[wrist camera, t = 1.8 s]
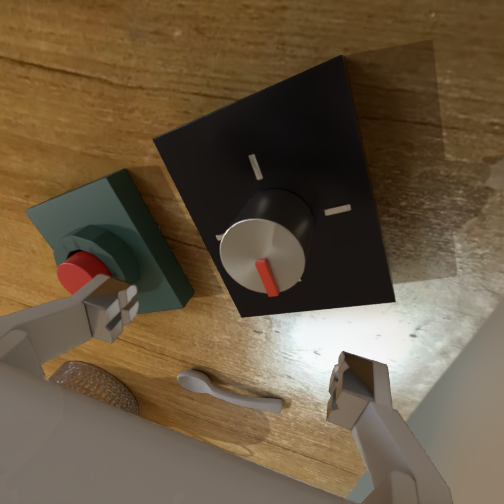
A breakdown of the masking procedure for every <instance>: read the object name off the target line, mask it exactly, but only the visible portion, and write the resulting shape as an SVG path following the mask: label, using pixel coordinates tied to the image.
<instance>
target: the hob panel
mask: <svg viewBox="0 0 504 504" xmlns="http://www.w3.org/2000/svg"><path fill="white" fill-rule="evenodd" d="M153 141H154V143H155V145H156V147H157V149H158V151H159V153H160V155H161V157H162V159H163V161H164V163H165V165H166V167H167V169H168V171H169V173H170V175H171V177H172V179H173V181H174V183H175V185H176V187H177V189H178V191H179V193H180V195H181V197H182V199H183V201H184V203H185V205H186V207H187V209H188V211H189V213H190V215H191V217H192V219H193V221H194V223H195V225H196V227H197V229H198V231H199V233H200V235H201V237H202V239H203V241H204V243H205V245H206V247H207V249H208V251H209V253H210V255H211V257H212V259H213V261H214V263H215V265H216V267H217V269H218V271H219V273H220V275H221V277H222V279H223V281H224V283H225V285H226V287H227V289H228V291H229V293H230V295H231V297H232V299H233V301H234V303H235V305H236V307H237V309H238V311H239V313H240V315H241V317H242V318H243V317H253V316H263V315H273V314H283V313H292V312H302V311H312V310H322V309H332V308H342V307H352V306H362V305H372V304H382V303H391V302H396V299H395V293H394V287H393V281H392V275H391V270H390V265H389V261H388V256H387V251H386V247H385V242H384V237H383V233H382V228H381V223H380V219H379V214H378V209H377V205H376V200H375V196H374V191H373V186H372V182H371V177H370V172H369V168H368V163H367V158H366V154H365V149H364V144H363V140H362V135H361V130H360V126H359V121H358V117H357V112H356V107H355V103H354V98H353V93H352V89H351V84H350V79H349V75H348V70H347V65H346V61H345V56H344V55H340V56H338V57H335V58H333V59H331V60H329V61H326V62H324V63H322V64H320V65H318V66H315V67H313V68H311V69H309V70H306V71H304V72H302V73H300V74H297V75H295V76H293V77H291V78H288V79H286V80H284V81H282V82H279V83H277V84H275V85H273V86H270V87H268V88H266V89H264V90H261V91H259V92H257V93H255V94H252V95H250V96H248V97H246V98H243V99H241V100H239V101H237V102H234V103H232V104H230V105H228V106H225V107H223V108H221V109H219V110H216V111H214V112H212V113H210V114H207V115H205V116H203V117H201V118H198V119H196V120H194V121H192V122H189V123H187V124H185V125H183V126H180V127H178V128H176V129H174V130H171V131H169V132H167V133H165V134H162V135H160V136H158V137H156V138H153ZM269 189H280V190H285V191H289V192H291V193H293V194H295V195H297V196H298V197H300V198H301V199H302V200H303V201H304V202H305V203H306V204H307V206H308V207H309V209H310V210H311V212H312V215H313V219H314V232H313V236H312V240H311V244H310V248H309V252H308V256H307V260H306V265H305V269H304V272H303V274H302V276H301V278H300V279H299V281H298V282H297V283H296V284H295V285H293V286H292V287H290V288H289V289H287V290H285V291H282V292H279V295H278V296H272V297H269V296H268V294H267V293H260V292H256V291H253V290H250V289H248V288H246V287H244V286H242V285H240V284H239V283H238V282H236V281H235V280H234V279H233V278H232V277H231V276H230V275H229V274H228V272H227V271H226V269H225V268H224V266H223V263H222V261H221V257H220V242H221V239H222V237H223V235H224V233H225V232H226V230H227V229H228V228H229V226H230V225H231V224H232V222H233V221H234V220H235V218H236V217H237V216H238V214H239V213H240V212H241V211H242V209H243V208H244V207H245V205H246V204H247V203H248V201H249V200H250V199H251V198H252V197H253V196H254V195H256V194H258V193H259V192H262V191H265V190H269Z"/></svg>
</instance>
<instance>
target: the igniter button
mask: <svg viewBox="0 0 504 504" xmlns="http://www.w3.org/2000/svg"><path fill="white" fill-rule="evenodd" d="M98 274H105V275H107V276H110V277H112V274H111V272H110V271H109V269H108V268H107V266H106V265H105V263H104V262H103V261H101V260H100V259H99V258H98V257H96V256H95V255H94V254H92V253H90V252H86V251H80V252H77V253H76V254H74V255H73V256H71V257H70V258H68V259H67V260H65V261H64V262H63V263H61V264H60V265H59V266H58V268H57V276H58V279H59V281H60V282H61V284H62V285H63V287H64V288H65V289H66V290H67V291H68V292H70V293H71V294H72V295H73V294H74V293H75V292H77V291H78V290H79V289H80V288H82V287H83V286H84V285H85V284H87V283H88V282H89V281H90V280H91V279H93V278H94V277H95V276H96V275H98Z"/></svg>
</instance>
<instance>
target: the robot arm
mask: <svg viewBox="0 0 504 504" xmlns="http://www.w3.org/2000/svg"><path fill="white" fill-rule="evenodd" d="M136 294H137V286H136V285H134V284H131V283H128V282H125V281H122V280H119V279H117V278H114V277H110V276H107V275H105V274H98V275H96V276H95V277H94V278H93V279H91V280H90V281H89V282H88V283H87V284H85V285H84V286H83V287H82V288H80V289H79V290H78V291H77V292H75V293H74V294H73V295H72V296H71V297H69V298H67V297H64V298H60V299H57V300H54V301H51V302H47V303H44V304H41V305H37V306H34V307H31V308H28V309H24V310H21V311H18V312H15V313H11V314H8V315H5V316H2V317H0V504H359V503H356V502H353V501H351V500H348V499H346V498H343V497H341V496H338V495H336V494H333V493H331V492H328V491H326V490H323V489H321V488H318V487H316V486H313V485H311V484H308V483H306V482H303V481H301V480H298V479H296V478H293V477H291V476H288V475H286V474H283V473H280V472H278V471H275V470H273V469H270V468H268V467H265V466H263V465H260V464H258V463H255V462H253V461H250V460H248V459H245V458H243V457H240V456H238V455H235V454H233V453H230V452H228V451H225V450H223V449H220V448H218V447H215V446H213V445H210V444H208V443H205V442H203V441H200V440H198V439H195V438H193V437H190V436H188V435H185V434H183V433H180V432H178V431H175V430H173V429H170V428H167V427H165V426H162V425H160V424H157V423H155V422H152V421H150V420H147V419H145V418H142V417H140V416H137V415H135V414H132V413H130V412H127V411H125V410H122V409H120V408H117V407H115V406H112V405H110V404H107V403H104V402H102V401H99V400H97V399H94V398H92V397H89V396H87V395H84V394H82V393H79V392H77V391H74V390H72V389H69V388H67V387H64V386H62V385H59V384H57V383H54V382H52V381H49V380H47V379H45V373H44V371H43V369H42V366H41V364H43V363H45V362H47V361H49V360H51V359H53V358H55V357H57V356H59V355H61V354H63V353H65V352H67V351H69V350H71V349H73V348H75V347H77V346H79V345H81V344H83V343H85V342H86V341H88V340H90V339H92V337H93V338H96V339H99V340H102V341H105V342H108V343H111V344H112V343H113V342H114V341H115V340H116V339H117V337H118V336H119V335H120V334H121V333H122V332H123V326H124V325H126V324H129V323H131V321H132V320H133V319H134V318H135V316H136V314H137V312H138V307H139V301H138V299H137V298H136V297H135V295H136ZM329 393H330V394H331V397H330V399H329V401H328V405H327V418H326V421H328V422H331V423H333V424H336V425H338V426H341V427H343V428H346V429H348V430H351V434H352V436H353V438H354V441H355V443H356V445H357V448H358V450H359V452H360V455H361V457H362V459H363V462H364V464H365V466H366V469H367V471H368V473H369V476H370V478H371V480H372V482H373V485H374V487H375V489H374V490H373V491H372V492H371V493H370V495H369V496H368V497H367V498H366V499H365V500H364V501H363V502H362V503H361V504H453V500H452V496H451V491H450V488H449V487H448V485H447V484H446V482H445V481H444V479H443V478H442V476H441V475H440V473H439V472H438V470H437V469H436V467H435V466H434V464H433V463H432V462H431V460H430V458H429V457H428V455H427V454H426V452H425V451H424V450H423V448H422V447H421V445H420V443H419V442H418V441H417V439H416V438H415V436H414V435H413V433H412V432H411V430H410V429H409V427H408V426H407V424H406V423H405V421H404V420H403V418H402V417H401V415H400V414H399V412H398V411H397V410H395V409H393V408H392V399H391V390H390V381H389V372H388V367H387V365H386V364H383V363H380V362H377V361H374V360H370V359H367V358H364V357H361V356H358V355H354V354H351V353H348V352H345V351H342V352H341V354H340V356H339V360H338V364H337V365H335V366H334V369H333V371H332V375H331V378H330V384H329Z"/></svg>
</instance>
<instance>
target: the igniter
mask: <svg viewBox="0 0 504 504" xmlns="http://www.w3.org/2000/svg"><path fill="white" fill-rule="evenodd" d="M24 212H25V213H26V214H27V216H28V217H29V218H30V220H31V221H32V222H33V224H34V225H35V226H36V228H37V229H38V231H39V232H40V233H41V235H42V236H43V237H44V239H45V240H46V241H47V243H48V244H49V245H50V247H51V248H52V249H53V251H54V252H53V254H54V258H55V261H56V265H57V268H58V266H59V265H60V264H61V263H63V262H64V261H65V260H67V259H68V258H70V257H71V256H73V255H74V254H76V253H77V252H80V251H86V252H90V253H92V254H94V255H95V256H96V257H98V258H99V259H100V260H101V261H103V262H104V263H105V265H106V266H107V268H108V269H109V271H110V272H111V274H112V277H114V278H117V279H119V280H122V281H125V282H128V283H131V284H134V285H136V286H137V294H136V295H135V297H136V298H137V299H138V301H139V307H138V312H137V314H141V313H149V312H157V311H165V310H173V309H181V308H184V307H185V305H186V304H187V303H188V301H189V300H190V298H191V297H192V295H193V294H194V291H193V289H192V287H191V285H190V283H189V282H188V280H187V278H186V276H185V275H184V273H183V271H182V269H181V267H180V266H179V264H178V262H177V260H176V258H175V257H174V255H173V253H172V251H171V250H170V248H169V246H168V244H167V242H166V241H165V239H164V237H163V235H162V233H161V232H160V230H159V228H158V226H157V224H156V223H155V221H154V219H153V217H152V216H151V214H150V212H149V210H148V208H147V207H146V205H145V203H144V201H143V199H142V198H141V196H140V194H139V192H138V191H137V189H136V187H135V185H134V183H133V182H132V180H131V178H130V176H129V174H128V173H127V171H126V169H122V170H119V171H117V172H115V173H112V174H110V175H107V176H105V177H102V178H100V179H98V180H95V181H93V182H90V183H88V184H85V185H83V186H81V187H78V188H76V189H73V190H71V191H68V192H66V193H64V194H61V195H59V196H56V197H54V198H51V199H49V200H47V201H44V202H42V203H40V204H38V205H35V206H33V207H31V208H29V209H27V210H25V211H24Z"/></svg>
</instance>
